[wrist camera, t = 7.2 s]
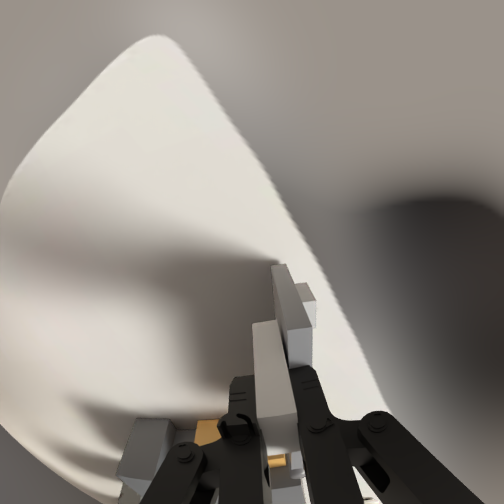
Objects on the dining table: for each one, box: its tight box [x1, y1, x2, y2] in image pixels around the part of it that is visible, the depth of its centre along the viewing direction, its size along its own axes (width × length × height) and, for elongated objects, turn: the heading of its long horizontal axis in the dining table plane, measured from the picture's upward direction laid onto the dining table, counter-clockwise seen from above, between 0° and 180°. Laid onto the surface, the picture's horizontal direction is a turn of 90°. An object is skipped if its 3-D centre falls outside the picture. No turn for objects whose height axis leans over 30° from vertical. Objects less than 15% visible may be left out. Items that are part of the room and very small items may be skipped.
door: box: [271, 264, 316, 470], centre depth 16 cm, size 12×2×8 cm, turn 6°
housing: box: [116, 418, 306, 504], centre depth 19 cm, size 18×12×9 cm, turn 102°
